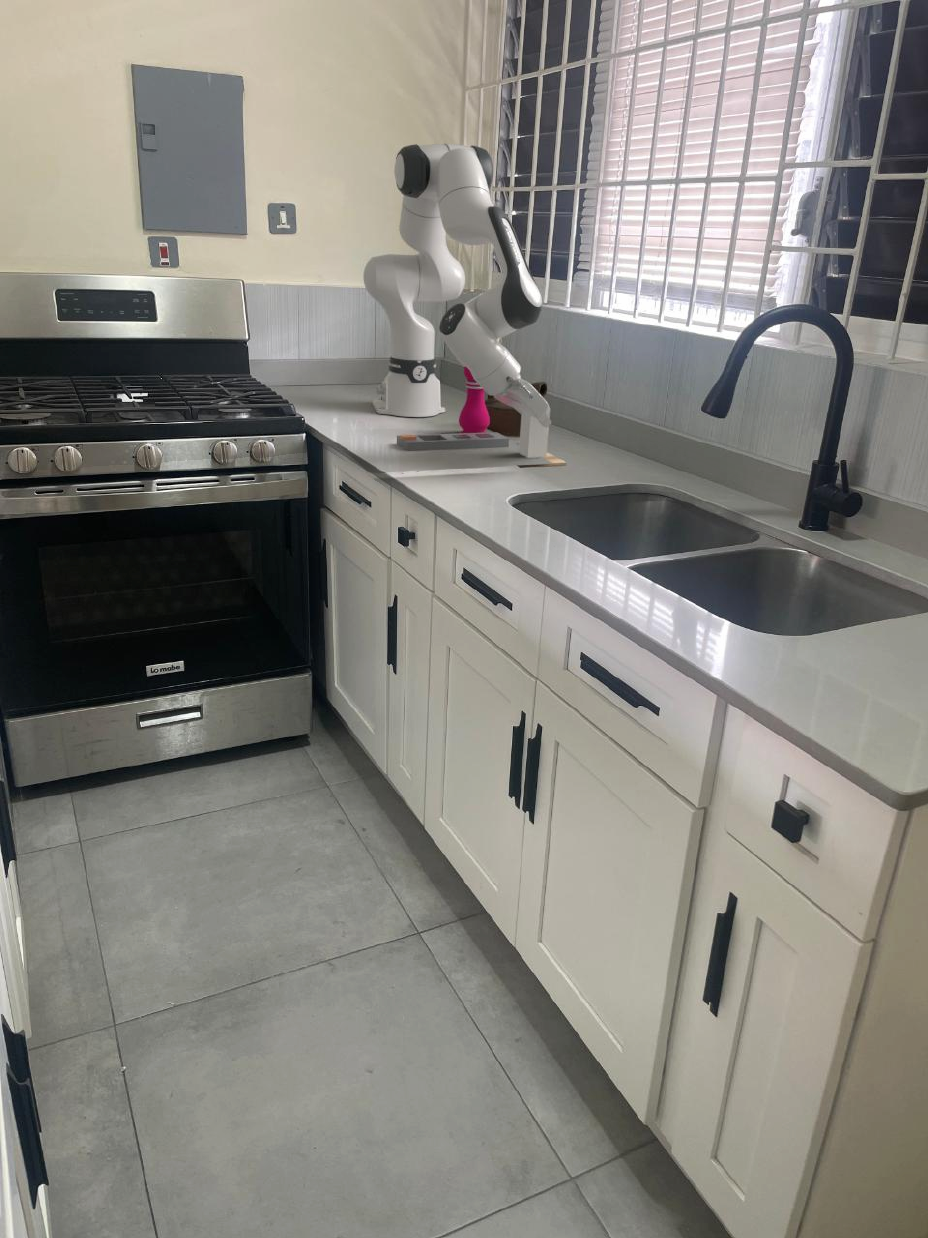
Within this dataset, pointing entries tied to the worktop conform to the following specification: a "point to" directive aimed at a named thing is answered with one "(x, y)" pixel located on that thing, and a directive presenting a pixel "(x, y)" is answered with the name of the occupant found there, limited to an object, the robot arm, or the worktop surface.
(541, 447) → the block
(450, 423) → the worktop surface
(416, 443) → the power strip
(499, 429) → the clothes iron
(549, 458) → the tan flat angled piece
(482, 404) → the pepper mill
